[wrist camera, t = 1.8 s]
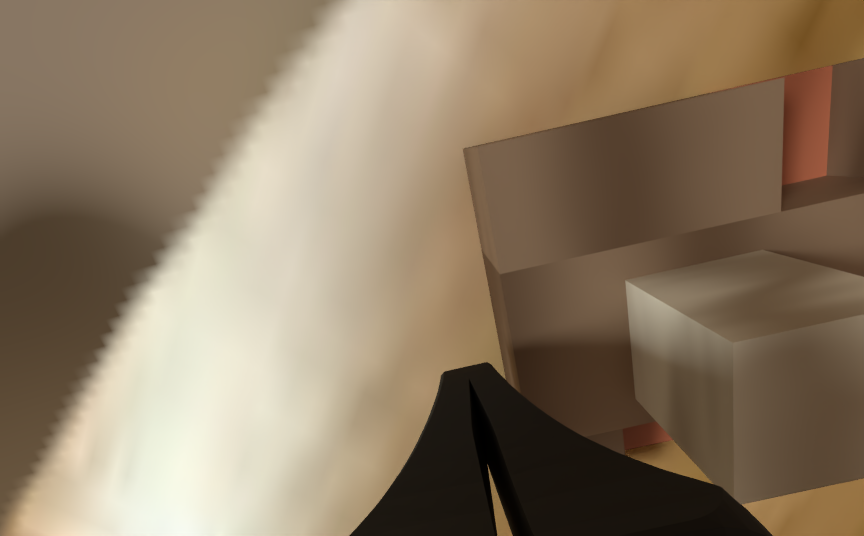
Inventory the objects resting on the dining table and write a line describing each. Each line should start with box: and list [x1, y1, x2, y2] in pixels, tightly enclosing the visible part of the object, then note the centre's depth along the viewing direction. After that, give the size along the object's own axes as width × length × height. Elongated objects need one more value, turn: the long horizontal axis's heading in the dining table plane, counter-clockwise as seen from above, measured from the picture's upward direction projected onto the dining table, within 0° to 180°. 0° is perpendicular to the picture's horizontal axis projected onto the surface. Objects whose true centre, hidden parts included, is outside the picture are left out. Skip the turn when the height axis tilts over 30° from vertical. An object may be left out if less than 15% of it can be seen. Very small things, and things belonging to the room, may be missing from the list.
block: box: [625, 250, 864, 504], centre depth 10 cm, size 4×4×4 cm
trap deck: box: [463, 58, 864, 455], centre depth 13 cm, size 18×13×4 cm
